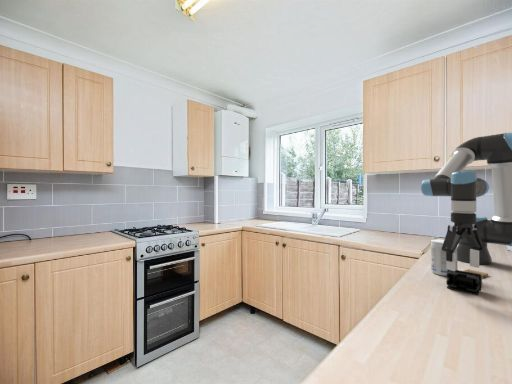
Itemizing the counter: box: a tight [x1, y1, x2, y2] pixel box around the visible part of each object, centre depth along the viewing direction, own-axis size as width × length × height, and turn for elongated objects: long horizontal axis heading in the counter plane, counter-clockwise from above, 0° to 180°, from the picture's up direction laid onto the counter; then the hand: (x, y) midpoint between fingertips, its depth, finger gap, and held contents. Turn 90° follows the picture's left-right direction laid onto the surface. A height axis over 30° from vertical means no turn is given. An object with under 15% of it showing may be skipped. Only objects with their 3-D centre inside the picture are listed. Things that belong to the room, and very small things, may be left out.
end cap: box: [445, 269, 483, 296], centre depth 97 cm, size 10×7×7 cm
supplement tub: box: [430, 238, 458, 277], centre depth 115 cm, size 10×10×15 cm
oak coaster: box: [464, 268, 489, 279], centre depth 113 cm, size 7×7×1 cm
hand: (462, 268), depth 96 cm, fingers open, 13 cm apart
